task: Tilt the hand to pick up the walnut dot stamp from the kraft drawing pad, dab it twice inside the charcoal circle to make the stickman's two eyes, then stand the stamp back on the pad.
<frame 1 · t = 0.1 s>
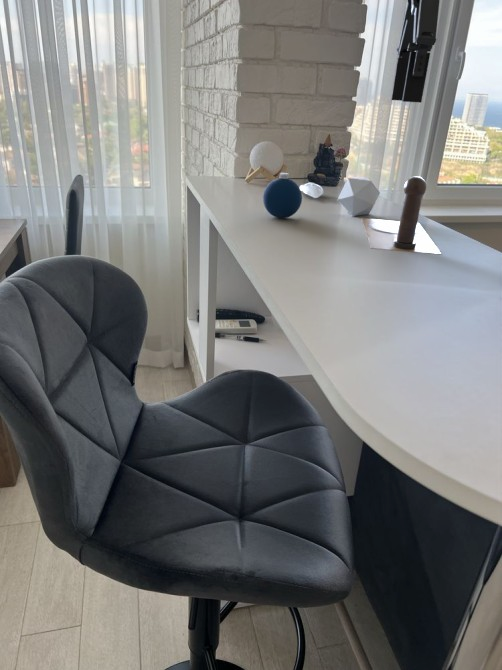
hand: (404, 101, 82), 25 cm above the table, tool pointing down, fingers open, 13 cm apart
dot stamp: (403, 246, 93), resting on drawing pad
drawing pad: (396, 236, 102), on the table
pincushion: (310, 196, 135), on the table
die: (356, 214, 118), on the table
christmas ornament: (280, 218, 111), on the table
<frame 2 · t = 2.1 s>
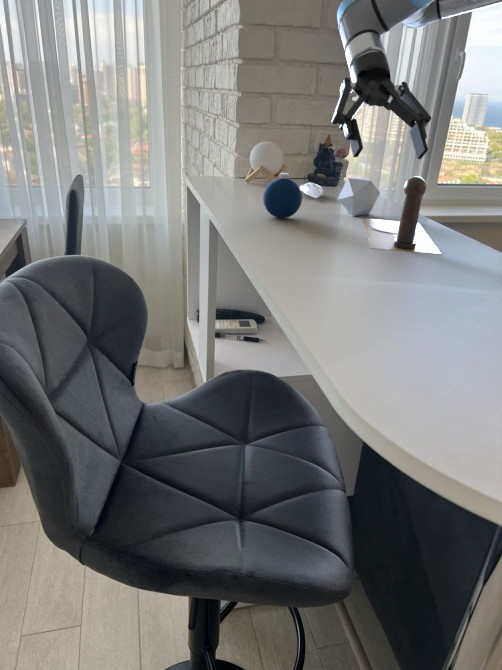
hand: (391, 153, 95), 15 cm above the table, tool tilted 45°, fingers open, 13 cm apart
nothing on the table moved.
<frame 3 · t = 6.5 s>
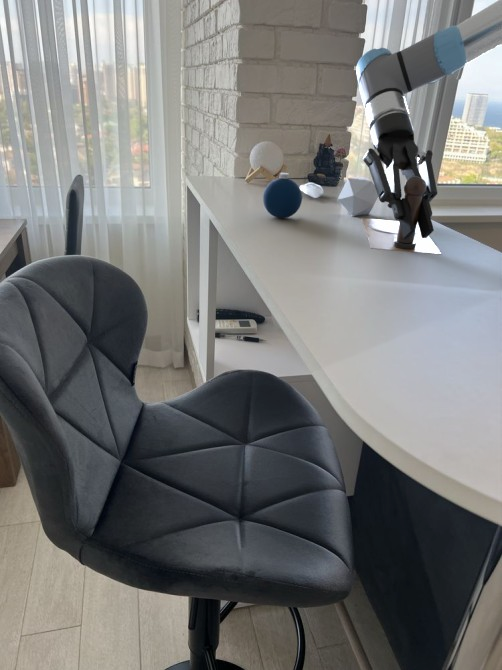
hand: (418, 234, 88), 4 cm above the table, tool tilted 45°, fingers closed on dot stamp, 3 cm apart
dot stamp: (403, 246, 93), resting on drawing pad, touching gripper
everything else where it was.
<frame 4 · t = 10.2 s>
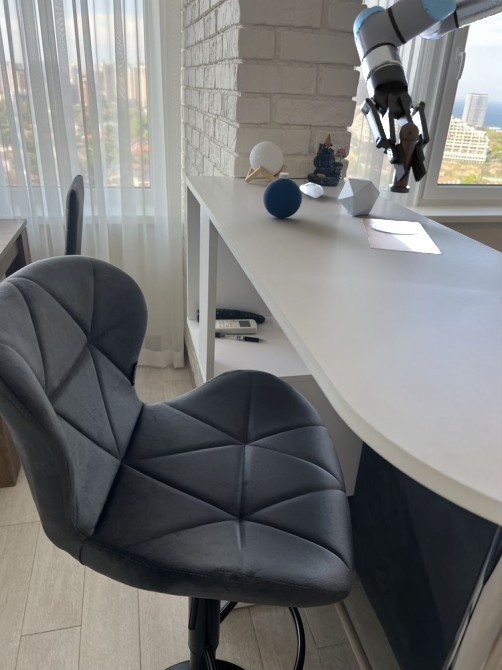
hand: (412, 177, 95), 12 cm above the table, tool tilted 45°, fingers closed on dot stamp, 3 cm apart
dot stamp: (398, 191, 99), point 8 cm above the table, touching gripper
everything else where it was.
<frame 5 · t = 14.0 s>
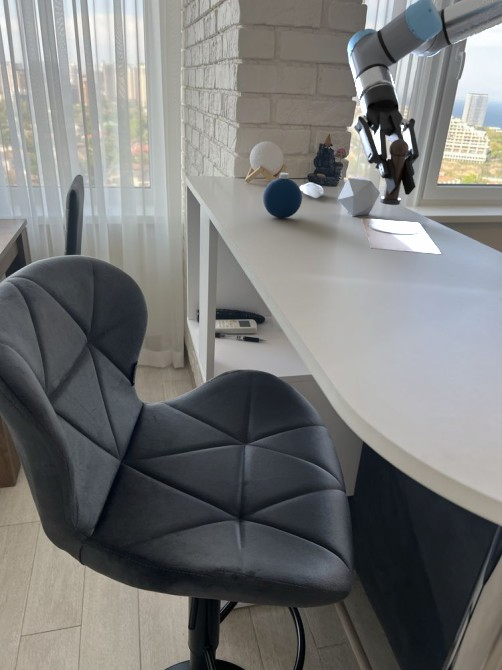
hand: (402, 190, 101), 8 cm above the table, tool tilted 45°, fingers closed on dot stamp, 3 cm apart
dot stamp: (390, 202, 106), point 5 cm above the table, touching gripper
everything else where it was.
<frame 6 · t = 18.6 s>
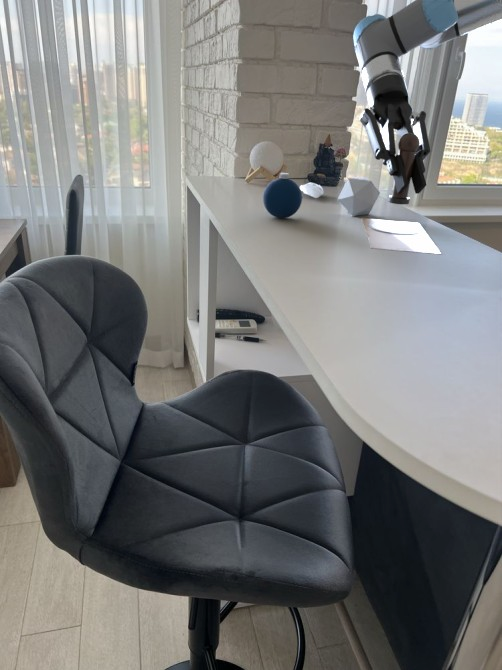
hand: (411, 189, 93), 10 cm above the table, tool tilted 45°, fingers closed on dot stamp, 3 cm apart
dot stamp: (398, 202, 98), point 7 cm above the table, touching gripper
everything else where it was.
when the fingers open (4 cm above the table, at t = 21.8 s): dot stamp stays where it is, resting on drawing pad.
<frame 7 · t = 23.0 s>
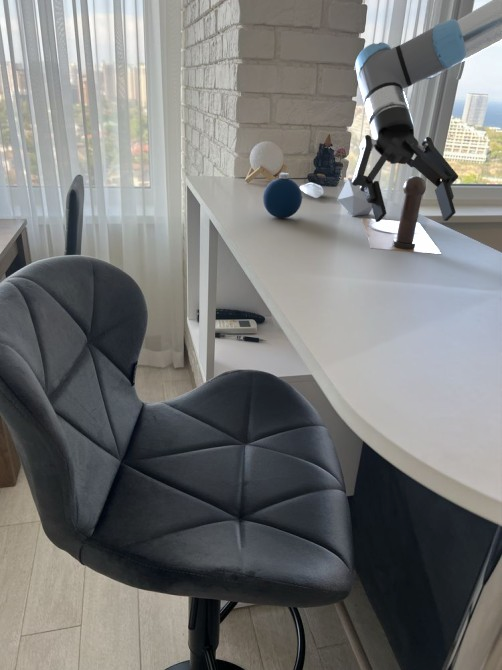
hand: (416, 217, 89), 6 cm above the table, tool tilted 45°, fingers open, 13 cm apart
dot stamp: (403, 246, 93), resting on drawing pad
everything else where it was.
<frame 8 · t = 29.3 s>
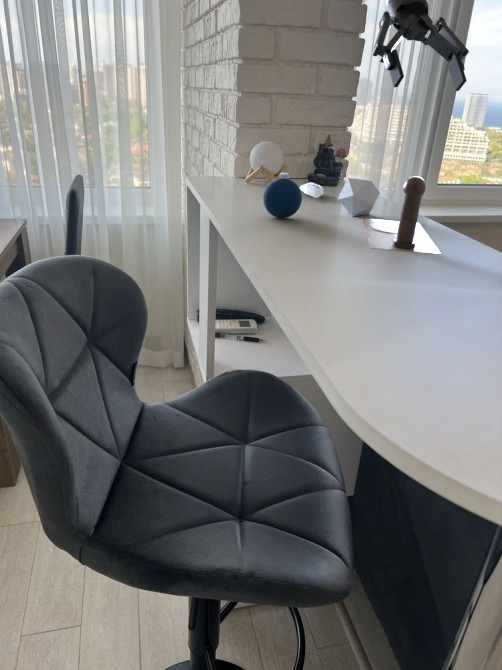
hand: (430, 84, 98), 28 cm above the table, tool tilted 45°, fingers open, 13 cm apart
nothing on the table moved.
at the end: dot stamp 0.1 cm from the target spot on the drawing pad, point 0.4 cm above the drawing pad's base; dot stamp tilted 0°; the gripper is holding nothing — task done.
